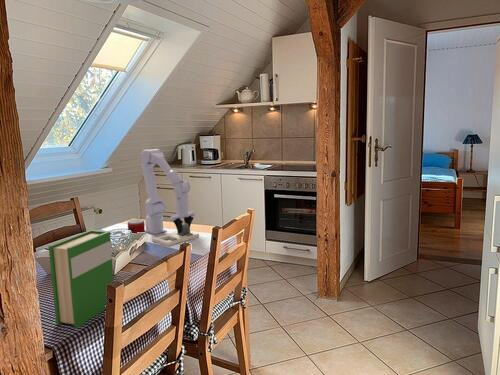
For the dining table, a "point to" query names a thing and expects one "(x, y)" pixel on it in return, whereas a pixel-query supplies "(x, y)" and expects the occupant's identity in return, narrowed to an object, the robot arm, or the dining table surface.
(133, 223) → the canned food
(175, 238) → the socket plate
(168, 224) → the dining table surface
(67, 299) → the hardback book
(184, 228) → the plug
